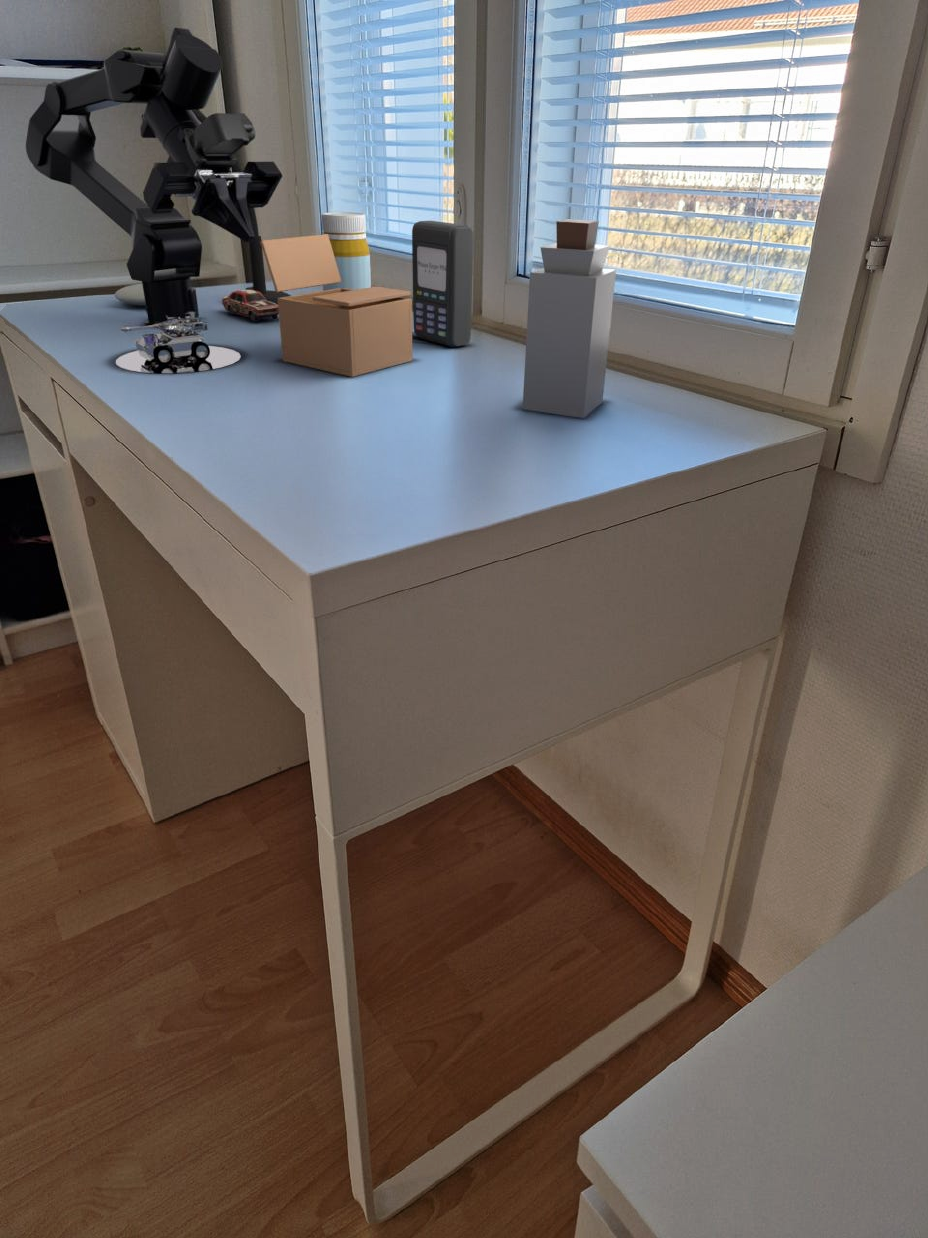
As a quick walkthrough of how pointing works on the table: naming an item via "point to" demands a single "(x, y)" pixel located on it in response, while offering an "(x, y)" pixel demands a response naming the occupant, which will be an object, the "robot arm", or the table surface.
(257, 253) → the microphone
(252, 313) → the race car
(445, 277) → the card reader
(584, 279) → the perfume bottle
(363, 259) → the bottle
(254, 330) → the table surface
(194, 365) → the toy car
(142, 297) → the cushion
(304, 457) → the table surface
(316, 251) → the lid flap
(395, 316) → the carton
